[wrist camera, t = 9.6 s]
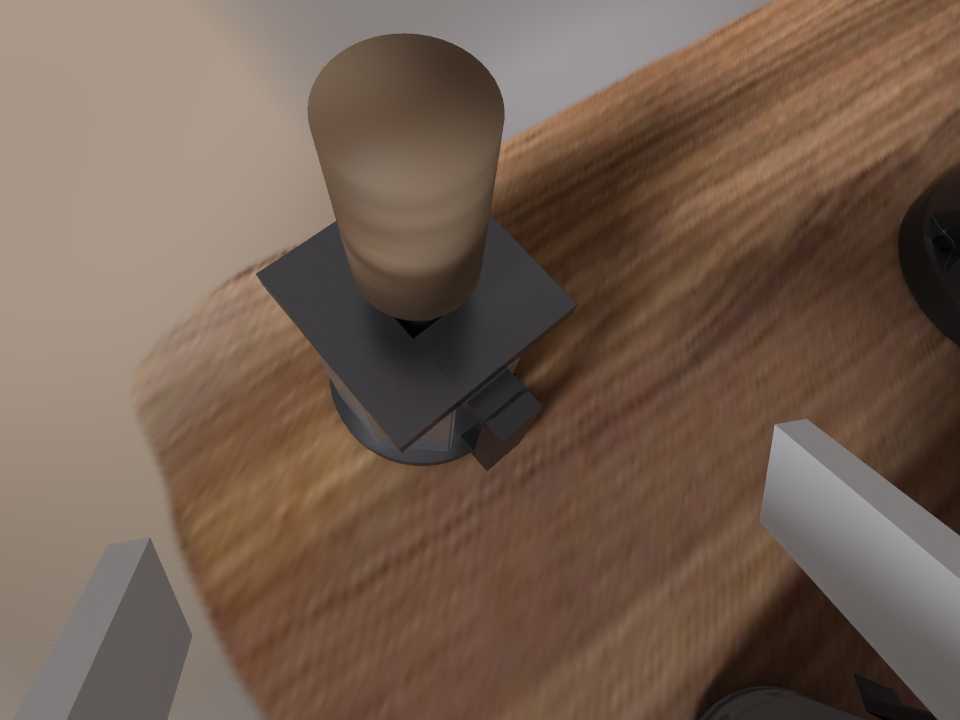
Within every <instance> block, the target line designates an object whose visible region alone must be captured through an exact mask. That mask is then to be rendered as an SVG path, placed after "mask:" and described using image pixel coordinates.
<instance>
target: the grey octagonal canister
mask: <svg viewBox="0 0 960 720" xmlns="http://www.w3.org/2000/svg"><path fill="white" fill-rule="evenodd" d="M256 275H257V276H258V278H259V280H260V281H261V283H262V285H263V286H264V287H265V288H266V290H267V291H268V292H269V293H270V294H271V296H272V297H273V298H274V299H275V300H276V302H277V303H278V304H279V305H280V306H281V308H282V309H283V310H284V311H285V313H286V314H287V315H288V316H289V317H290V319H291V320H292V321H293V322H294V323H295V325H296V326H297V327H298V328H299V330H300V331H301V332H302V333H303V334H304V336H305V337H306V338H307V339H308V340H309V342H310V343H311V344H312V346H313V348H314V350H315V351H316V353H317V355H318V357H319V359H320V360H321V362H322V364H323V366H324V368H325V369H326V371H327V373H328V375H329V377H330V386H331V392H332V397H333V400H334V403H335V406H336V409H337V411H338V413H339V415H340V417H341V419H342V420H343V422H344V423H345V425H346V426H347V428H348V429H349V431H350V432H351V433H352V434H353V435H354V436H355V438H356V439H357V440H358V441H359V442H360V443H362V444H363V445H364V446H365V447H367V448H368V449H369V450H371V451H372V452H374V453H376V454H377V455H379V456H381V457H384V458H386V459H388V460H391V461H394V462H398V463H401V464H407V465H414V466H430V465H438V464H443V463H447V462H451V461H453V460H456V459H458V458H461V457H463V456H465V455H467V454H469V453H470V452H471V453H472V454H473V455H474V457H475V458H476V459H477V460H478V461H479V462H480V464H481V465H482V466H483V467H484V468H485V469H486V471H488V470H489V469H490V468H491V467H492V466H494V465H495V464H496V463H497V462H498V461H499V460H500V459H502V458H503V457H504V456H505V455H506V454H507V453H509V452H510V451H511V450H512V449H513V448H514V447H515V446H517V445H518V444H519V443H520V441H521V440H522V438H523V437H524V435H525V434H526V432H527V431H528V429H529V428H530V426H531V425H532V423H533V422H534V420H535V419H536V417H537V416H538V414H539V413H540V411H541V410H542V408H543V406H542V405H541V404H540V403H539V402H538V401H537V400H536V399H535V397H534V396H533V395H532V394H531V393H530V392H529V391H528V390H527V389H526V387H525V386H524V385H523V384H522V383H521V382H520V381H519V380H518V379H517V378H516V376H515V369H516V367H517V364H518V362H519V359H520V357H521V355H522V354H524V353H525V352H526V351H527V350H529V349H530V348H531V347H532V346H533V345H535V344H536V343H537V342H538V341H540V340H541V339H542V338H543V337H545V336H546V335H547V334H548V333H549V332H551V331H552V330H553V329H554V328H556V327H557V326H558V325H559V324H560V323H562V322H563V321H564V320H565V319H567V318H568V317H569V316H570V315H571V314H573V312H574V310H575V308H576V306H577V303H576V302H575V301H574V300H573V299H572V298H571V297H570V296H569V295H568V294H567V293H566V292H565V291H564V290H563V289H562V288H561V287H560V286H559V285H558V284H557V283H556V282H555V281H554V280H553V279H552V277H551V276H550V275H549V274H548V273H547V272H546V271H545V270H544V269H543V268H542V267H541V266H540V265H539V264H538V263H537V262H536V261H535V260H534V259H533V258H532V257H531V256H530V255H529V254H528V253H527V252H526V251H525V250H524V249H523V248H522V247H521V246H520V245H519V244H518V242H517V241H516V240H515V239H514V238H513V237H512V236H511V235H510V234H509V233H508V232H507V231H506V230H505V229H504V228H503V227H502V226H501V225H500V224H499V223H498V222H497V221H496V220H495V219H494V218H493V217H492V216H491V215H490V217H489V223H488V230H487V236H486V243H485V249H484V256H483V262H482V269H481V275H480V278H479V281H478V284H477V286H476V288H475V290H474V291H473V293H472V294H471V296H470V297H469V298H468V299H467V300H466V301H465V302H464V303H463V304H462V305H461V306H460V307H458V308H457V309H455V310H454V311H452V312H450V313H448V314H446V315H444V316H442V317H441V318H440V319H439V320H437V321H436V322H435V323H433V324H432V325H431V326H429V327H428V328H427V329H425V330H424V331H423V332H421V333H420V334H419V335H417V336H416V337H415V338H414V339H412V338H411V336H410V335H409V334H408V333H407V332H406V331H405V330H404V328H403V327H402V326H401V325H400V323H399V319H398V318H395V317H392V316H389V315H387V314H385V313H383V312H381V311H379V310H378V309H376V308H375V307H373V306H372V305H371V304H370V303H369V302H368V301H367V300H366V299H365V298H364V297H363V296H362V294H361V293H360V292H359V290H358V288H357V286H356V285H355V282H354V279H353V277H352V273H351V270H350V266H349V263H348V259H347V256H346V252H345V249H344V245H343V242H342V238H341V235H340V231H339V228H338V224H337V221H336V222H334V223H332V224H331V225H329V226H328V227H326V228H325V229H323V230H322V231H320V232H319V233H317V234H316V235H314V236H313V237H311V238H310V239H308V240H307V241H305V242H304V243H302V244H301V245H299V246H298V247H296V248H295V249H293V250H291V251H290V252H288V253H287V254H285V255H284V256H282V257H281V258H279V259H278V260H276V261H275V262H273V263H272V264H270V265H269V266H267V267H266V268H264V269H263V270H261V271H260V272H258V273H257V274H256Z"/></svg>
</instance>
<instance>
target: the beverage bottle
mask: <svg viewBox="0 0 960 720" xmlns="http://www.w3.org/2000/svg"><path fill="white" fill-rule="evenodd" d="M854 676H855V679H856V682H857V685H858V688H859V691H860V694H861V697H862V700H863V703H864V706H865V709H866V711H867V712H868V713H870V714H872V715H874V716H876V717H878V718H880V719H882V720H938V719H937V718H936V717H935V716H934V715H933V714H932V713H931V712H928V711H924V710H920V709H916V708H912V707H909V706H905V705H903V704H902V702H901V701H900V699H899V698H898V696H897V695H896V693H895V692H894V690H893V689H892V688H886V687H883V686H881V685H879V684H877V683H875V682H873V681H870V680H868V679H866V678H864V677H862V676H860V675H858V674H855V675H854ZM700 720H868V719H865V718H862V717H859V716H857V715H854V714H851V713H848V712H845V711H842V710H839V709H837V708H834V707H831V706H828V705H825V704H823V703H822V702H820V701H818V700H817V699H814V698H811V697H808V696H806V695H803V694H800V693H797V692H794V691H791V690H788V689H786V688H779V687H772V686H757V687H747V688H744V689H742V690H739V691H736V692H733V693H730V694H729V695H727V696H725V697H724V698H722V699H721V700H719V701H718V702H716V703H714V704H713V705H712V706H711V708H710V709H709V710H708V711H707V712H706V713H705V714H704V715H703V716H702V717H701V718H700Z"/></svg>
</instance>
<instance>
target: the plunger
mask: <svg viewBox="0 0 960 720" xmlns="http://www.w3.org/2000/svg"><path fill="white" fill-rule="evenodd" d="M308 120H309V125H310V130H311V133H312V137H313V140H314V144H315V147H316V151H317V154H318V158H319V161H320V164H321V168H322V172H323V175H324V179H325V182H326V186H327V189H328V193H329V196H330V200H331V203H332V207H333V210H334V214H335V217H336V221H337V224H338V228H339V231H340V235H341V238H342V242H343V245H344V249H345V252H346V256H347V259H348V263H349V266H350V270H351V273H352V277H353V279H354V282H355V285H356V286H357V288H358V290H359V292H360V293H361V294H362V296H363V297H364V298H365V299H366V300H367V301H368V302H369V303H370V304H371V305H372V306H373V307H375V308H376V309H378V310H379V311H381V312H383V313H385V314H387V315H389V316H392V317H395V318H398V319H399V323H400V325H401V326H402V327H403V328H404V330H405V331H406V332H407V333H408V334H409V335H410V336H411V338H412V339H414V338H415V337H416V336H417V335H419V334H420V333H421V332H423V331H424V330H425V329H427V328H428V327H429V326H431V325H432V324H433V323H435V322H436V321H437V320H439V319H440V318H441V317H442V316H444V315H446V314H448V313H450V312H452V311H454V310H455V309H457V308H458V307H460V306H461V305H462V304H463V303H464V302H465V301H466V300H467V299H468V298H469V297H470V296H471V294H472V293H473V291H474V290H475V288H476V286H477V284H478V281H479V278H480V275H481V269H482V262H483V256H484V249H485V243H486V236H487V230H488V223H489V217H490V210H491V203H492V197H493V190H494V184H495V177H496V171H497V164H498V158H499V151H500V144H501V138H502V131H503V125H504V104H503V98H502V95H501V92H500V89H499V87H498V85H497V83H496V81H495V79H494V78H493V76H492V75H491V74H490V73H489V71H488V70H487V69H486V67H484V65H483V64H482V63H481V62H480V61H478V60H477V59H476V58H475V57H474V56H473V55H471V54H470V53H468V52H467V51H465V50H464V49H462V48H460V47H458V46H456V45H454V44H452V43H449V42H447V41H444V40H441V39H438V38H434V37H430V36H425V35H418V34H390V35H382V36H378V37H374V38H370V39H367V40H364V41H361V42H359V43H356V44H354V45H352V46H350V47H348V48H347V49H345V50H344V51H342V52H341V53H339V54H338V55H336V56H335V57H334V58H333V59H332V60H331V61H330V62H329V63H328V64H327V65H326V66H325V67H324V68H323V69H322V71H321V72H320V74H319V75H318V77H317V78H316V80H315V82H314V85H313V87H312V89H311V92H310V96H309V101H308Z"/></svg>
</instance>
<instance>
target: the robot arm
mask: <svg viewBox="0 0 960 720" xmlns="http://www.w3.org/2000/svg"><path fill="white" fill-rule="evenodd" d="M899 253H900V260H901V265H902V269H903V273H904V276H905V278H906V281H907V283H908V286H909V288H910V290H911V292H912V294H913V296H914V297H915V299H916V301H917V302H918V304H919V305H920V307H921V308H922V310H923V311H924V312H925V313H926V315H927V316H928V317H929V318H930V320H931V321H932V322H933V323H934V324H935V325H936V326H937V327H938V328H939V329H940V330H941V331H942V332H943V333H944V334H945V335H946V336H948V337H949V338H950V339H951V340H952V341H954V342H955V343H956V344H958V345H959V346H960V170H958V171H957V172H955V173H953V174H951V175H949V176H948V177H946V178H945V179H943V180H942V181H940V182H939V183H938V184H937V185H935V186H934V187H933V188H931V189H930V190H929V191H927V192H926V193H925V194H923V195H922V196H921V197H920V198H919V199H918V200H917V201H916V202H915V203H914V204H913V205H912V206H911V208H910V209H909V211H908V212H907V214H906V216H905V218H904V221H903V224H902V227H901V231H900V238H899ZM759 522H760V523H761V524H762V525H763V526H764V527H765V528H766V529H767V530H768V532H769V533H770V534H771V535H772V536H773V537H774V538H775V539H776V540H777V542H778V543H779V544H780V545H781V546H782V547H783V548H784V549H785V550H786V552H787V553H788V554H789V555H790V556H791V557H792V558H793V559H794V560H795V562H796V563H797V564H798V565H799V566H800V567H801V568H802V569H803V570H804V572H805V573H806V574H807V575H808V576H809V577H810V578H811V579H812V580H813V582H814V583H815V584H816V585H817V586H818V587H819V588H820V589H821V590H822V592H823V593H824V594H825V595H826V596H827V597H828V598H829V599H830V600H831V602H832V603H833V604H834V605H835V606H836V607H837V608H838V609H839V610H840V612H841V613H842V614H843V615H844V616H845V617H846V618H847V619H848V620H849V622H850V623H851V624H852V625H853V626H854V627H855V628H856V629H857V630H858V632H859V633H860V634H861V635H862V636H863V637H864V638H865V639H866V640H867V642H868V643H869V644H870V645H871V646H872V647H873V648H874V649H875V650H876V652H877V653H878V654H879V655H880V656H881V657H882V658H883V659H884V661H885V662H886V663H887V664H888V665H889V666H890V667H891V668H892V669H893V671H894V672H895V673H896V674H897V675H898V676H899V677H900V678H901V679H902V681H903V682H904V683H905V684H906V685H907V686H908V687H909V688H910V689H911V691H912V692H913V693H914V694H915V695H916V696H917V697H918V698H919V699H920V701H921V702H922V703H923V704H924V705H925V706H926V707H927V708H928V709H929V711H930V712H931V713H932V714H933V715H934V716H935V717H936V718H937V719H938V720H960V536H959V535H958V534H957V533H955V532H954V531H953V530H951V529H950V528H949V527H947V526H946V525H945V524H944V523H942V522H941V521H940V520H938V519H937V518H936V517H934V516H933V515H932V514H930V513H929V512H928V511H927V510H925V509H924V508H923V507H921V506H920V505H919V504H917V503H916V502H915V501H913V500H912V499H911V498H910V497H908V496H907V495H906V494H904V493H903V492H902V491H900V490H899V489H898V488H896V487H895V486H894V485H892V484H891V483H890V482H889V481H887V480H886V479H885V478H883V477H882V476H881V475H879V474H878V473H877V472H875V471H874V470H873V469H872V468H870V467H869V466H868V465H866V464H865V463H864V462H862V461H861V460H860V459H858V458H857V457H856V456H855V455H853V454H852V453H851V452H849V451H848V450H847V449H845V448H844V447H843V446H841V445H840V444H839V443H838V442H836V441H835V440H834V439H832V438H831V437H830V436H828V435H827V434H826V433H824V432H823V431H822V430H821V429H819V428H818V427H817V426H815V425H814V424H813V423H811V422H810V421H809V420H807V419H803V420H797V421H792V422H786V423H781V424H775V427H774V433H773V440H772V446H771V452H770V458H769V464H768V471H767V477H766V483H765V489H764V496H763V502H762V508H761V514H760V521H759ZM191 638H192V634H191V632H190V629H189V627H188V625H187V622H186V620H185V618H184V615H183V613H182V611H181V608H180V606H179V604H178V601H177V600H176V597H175V595H174V592H173V590H172V587H171V585H170V583H169V581H168V578H167V576H166V574H165V571H164V569H163V567H162V564H161V562H160V560H159V558H158V555H157V553H156V550H155V548H154V546H153V543H152V541H151V539H150V538H145V539H139V540H134V541H128V542H123V543H117V544H112V545H108V546H107V548H106V550H105V552H104V554H103V555H102V557H101V559H100V561H99V563H98V565H97V567H96V569H95V570H94V572H93V574H92V576H91V578H90V580H89V581H88V583H87V585H86V587H85V589H84V590H83V593H82V594H81V596H80V598H79V600H78V602H77V604H76V605H75V607H74V609H73V611H72V613H71V614H70V616H69V618H68V620H67V622H66V624H65V626H64V628H63V629H62V631H61V633H60V635H59V637H58V639H57V641H56V642H55V644H54V646H53V648H52V650H51V652H50V653H49V655H48V657H47V659H46V661H45V663H44V664H43V666H42V668H41V670H40V672H39V674H38V675H37V677H36V679H35V681H34V683H33V685H32V687H31V689H30V690H29V692H28V694H27V696H26V698H25V700H24V701H23V703H22V705H21V707H20V709H19V711H18V712H17V714H16V716H15V718H14V720H167V718H168V715H169V712H170V708H171V705H172V702H173V698H174V695H175V692H176V689H177V685H178V682H179V679H180V675H181V672H182V669H183V665H184V662H185V659H186V655H187V652H188V649H189V645H190V642H191Z"/></svg>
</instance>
